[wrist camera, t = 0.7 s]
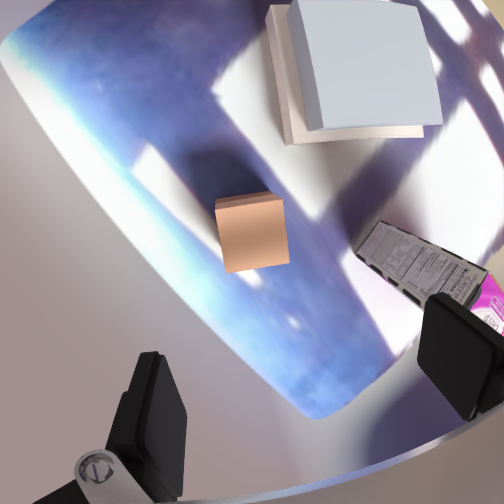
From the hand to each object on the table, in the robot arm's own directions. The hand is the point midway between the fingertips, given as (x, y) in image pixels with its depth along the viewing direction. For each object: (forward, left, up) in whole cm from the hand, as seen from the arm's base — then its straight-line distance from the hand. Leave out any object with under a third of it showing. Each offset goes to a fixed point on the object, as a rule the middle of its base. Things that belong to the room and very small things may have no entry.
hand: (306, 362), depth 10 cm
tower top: (-14, +11, -17) cm, 24 cm away
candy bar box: (+6, +16, -21) cm, 27 cm away
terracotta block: (-1, 0, -21) cm, 21 cm away
